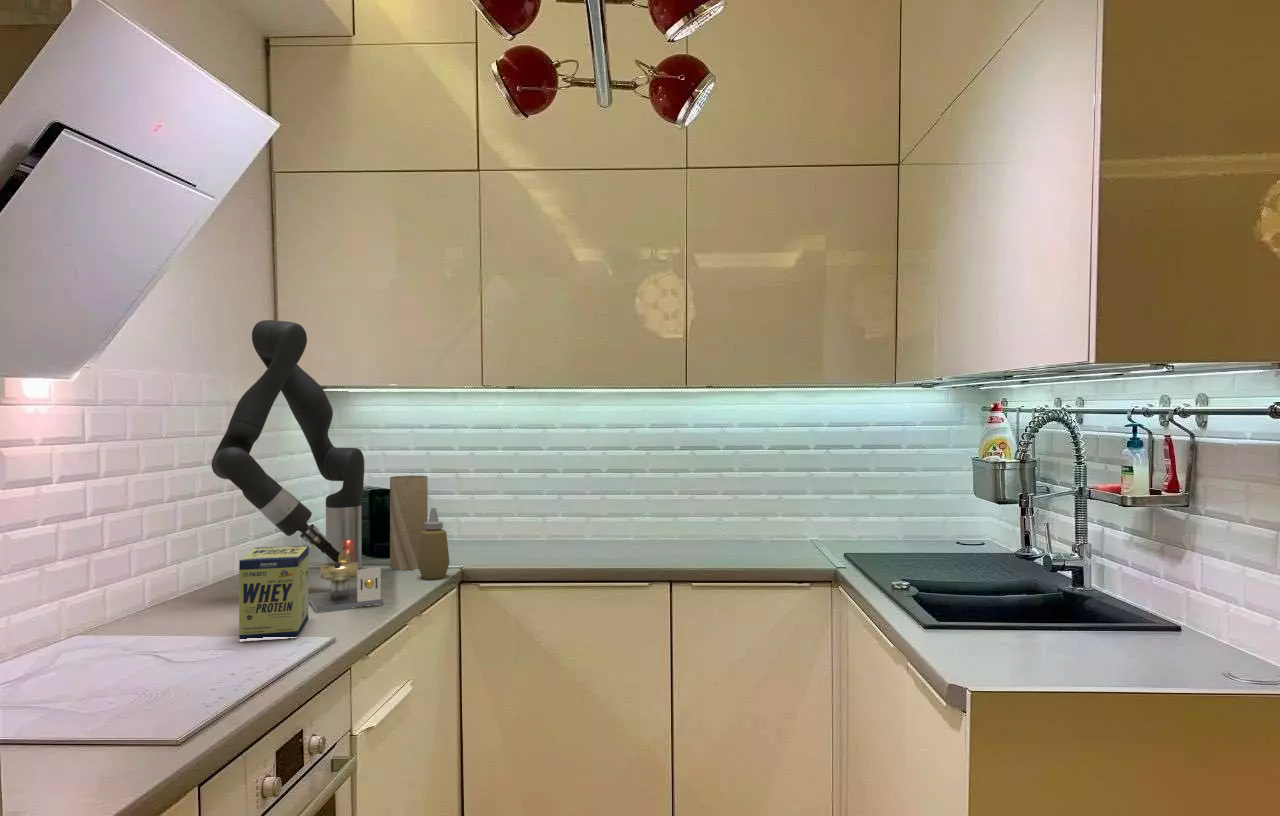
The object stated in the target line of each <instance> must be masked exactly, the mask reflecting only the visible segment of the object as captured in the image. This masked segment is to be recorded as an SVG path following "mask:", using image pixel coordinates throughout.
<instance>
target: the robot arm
mask: <svg viewBox="0 0 1280 816" xmlns="http://www.w3.org/2000/svg"><path fill="white" fill-rule="evenodd" d="M251 341H252V345H253V348H254V350H255V352H256V353H257V355H258V357H259V359H260V360H261V361H262V363H263V364H264V365H265V367H266V370H265V371H264V373H263V374H262V375H261V376H260V377H259V378H258V379H257V380H256V381H255V382H254V383H253V384H252V385H251V386H250V387H249V388H248V389H247V390H246V391H245V392H244V394H243V395H242V396H241V397H240V399H238V402H237V404H236V406H235V408H234V411H233V414H232V415H231V418H230V421H229V423H228V426H227V429H226V432H225V433H224V435H223V437H222V439H221V441H220V442H219V444H218V446H217V448H216V451H215V452H214V454H213V457H212V460H211V469H212V471H213V473H214V474H215V475H216V476H217V477H218V478H220V479H224V480H229V481H230V482H231V483H233V484H234V485H235V487H237V488H238V489H239V490H240V491H241V492H242V494H243V497H244V498H246V501H248V502H249V503H251V504H252V505H253V506H254V507H255V508H256V509H257V510H258V511H260V512H261V513H262V515H263V516H264V517H265V518H266V519H267V520H268V521H269V522H271V524H273V525H274V526H275V527H277V529H278V530H280V532H282V533H283V534H284V535H285V536H286V537H287V536H288V537H291V536H293V535H295V534H296V532H301V534H299V537H300V538H301V539H302V540H303V541H304V542H306V543H309V545H311V546H312V547H313V548H314V549H318V550H320V553H322V554H325V564H327V563H334V562H338V556H339V555H340V553H341V552H342V551H343V549H342V540H346V539H353V540H354V562H356V563H358V569H362V553H363V552H362V500H363V495H364V481H365V480H364V479H365V456H364V454H363V452H362V450H361V449H360V448H358V447H336V446H334V445H333V443H332V441H331V439H330V437H329V430H330V428H331V424H332V420H333V417H334V416H333V413H334V411H333V407H332V404H331V403H330V400H329V398H328V396H327V394H326V391H325V390H324V389H323V387H322V386H321V385H320V384H319V383H318V382H317V381H316V379H314V378H313V377H312V376H311V375H309V374H308V372H306V371H305V370H304V369H303V368H301V367H300V365H298V363H299V361H300V360H301V358H302V356H303V354H304V352H305V350H306V348H307V343H308V336H307V332H306V329H305V328H304V327H303V326H302V325H301V324H299V323H297V322H294V321H285V320H274V319H265V320H260V321H258V322H257V323H256V324H255V325H254V326H253V328H252V332H251ZM280 392H281V393H282V395H283V397H284V399H285V400H286V402H287V405H288V406H289V409H290V412H292V413H291V414H293V416H294V419H295V420H296V422H297V423H298V424H297V425H299V427H300V429H301V431H302V433H303V435H304V437H305V439H306V441H307V444H308V446H309V448H310V450H311V453H312V457H313V458H314V461H315V464H316V467H317V469H318V471H319V473H320V475H321V476H322V477H323V478H324V479H325V480H327V481H331V482H342V486H341V489H339V491H337V492H333V493H331V494H328V495H327V496H326V497H325V535H324V534H323V532H321V531H320V529H319V528H318V527H317V526H316V525H314V524H313V523H311V524H310V525H309V524H308V521H309V520H310V519H311V517H312V514H313V512H312V511H311V510H310V509H309V508H308V507H306V506H305V504H303V503H302V502H301V501H300V500H299V499H298V498H297V497H296V496H294V495H293V494H292V493H291V492H289V491H288V490H286V489H285V488H284V487H283V486H282V485H280V484H279V483H278V482H277V481H276V480H275V479H274V478H272V477H271V476H270V475H269V474H268V473H267V472H266V471H265V470H264V468H263V467H262V466H261V465H260V464H259V463H258V462H257V460H255V458H254V457H253V456H252V455H251V454H250V452H251V451H252V449H253V446H254V444H255V442H256V441H258V439H259V437H260V436H261V434H262V431H263V430H264V427H265V424H266V421H267V420H268V416H269V414H270V412H271V410H272V408H273V406H274V403H275V402H276V399H277V398H278V396H279V394H280Z"/></svg>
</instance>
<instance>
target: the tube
mask: <svg viewBox="0 0 1280 816" xmlns="http://www.w3.org/2000/svg"><path fill="white" fill-rule="evenodd" d="M428 479H429V478H428V475H427V476H426V475H396V476H391V477H390V478H389V513H390V514H389V529H390V530H389V569H390V568H391V569H390V570H392V569H395V570H394V571H397V570H411V571H416V570H415V569H419V567H418V555H419V545H420V535H421V532H422V531H424V530H426V529H424V523H425V522H428V521H429V517H428V513H429V512H428V511H429V508H428V506H429V505H428V504H429V503H428V499H429V498H428V491H429V490H428V488H429V487H428V486H429V484H428Z"/></svg>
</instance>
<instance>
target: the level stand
mask: <svg viewBox="0 0 1280 816" xmlns="http://www.w3.org/2000/svg"><path fill="white" fill-rule="evenodd" d="M381 569H382V568H381V567H380V566H378V567H377V566H376V567H369V568H368V567H367V568H359V569H357V570H356V577H355V587H356V588H353V589H351V588H350V578H349V579H342V580H329V582H330V583H329V584H330V586H329V590H330V591H326V592H325V591H324V592H316V593H309V596H308V601H309V602H310V603H309V602H308V603H309V605H310V604H311V605H312V606H313V608H314V609H315V610H314V609H313V608H312V609H313V610H314V612H315V611H316V612H320V611H321V612H320V613H323V612H322V611H328V612H332V611H331V610H336V611H340V610H339V609H344V610H347V609H346V608H352V607H360V606H367V605H374V604H383V605H384V599H383V598H382V597H381V596H382V595H381V594H382V593H381V589H382V587H381V582H382V581H381V577H382V576H381V575H382V574H381ZM311 605H310V606H311ZM312 606H311V607H312ZM360 608H361V607H360ZM352 609H353V608H352ZM316 612H315V613H316Z"/></svg>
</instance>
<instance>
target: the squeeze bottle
mask: <svg viewBox="0 0 1280 816" xmlns="http://www.w3.org/2000/svg"><path fill="white" fill-rule="evenodd" d="M443 523H444V522H443V521H441V520H439V516H438V512H437V508H436V507H432V508H430V513H429V517H428V522H425V523H424V529H426V530H424V531H422V532H421V535H420V545H419V555H418V567H419V572H420V575H421V578H422V579H423V580H425V579H426V580H437V579H438V580H439V579H444V577H446V576H447V572H448V569H449V566H450V555H449V545H448V535H447V531H446V530H444V529H443V527H444V526H443V525H444V524H443Z"/></svg>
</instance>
